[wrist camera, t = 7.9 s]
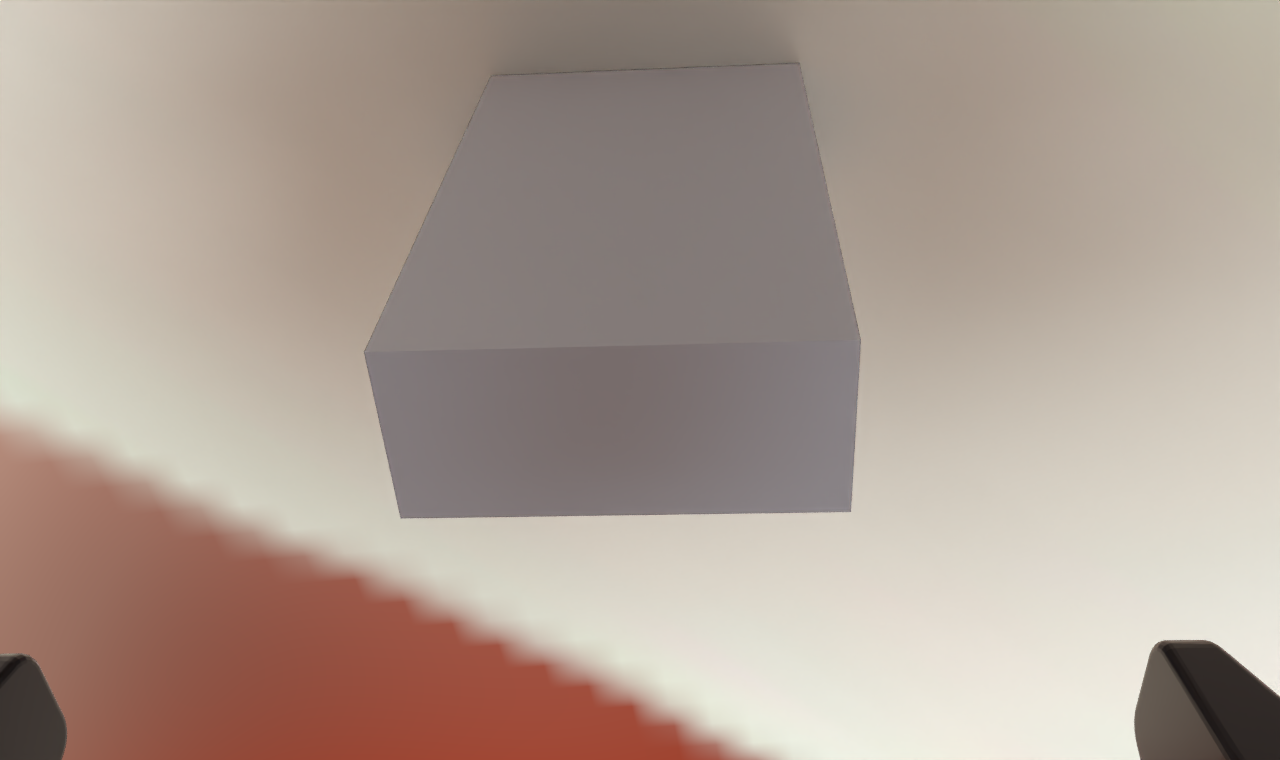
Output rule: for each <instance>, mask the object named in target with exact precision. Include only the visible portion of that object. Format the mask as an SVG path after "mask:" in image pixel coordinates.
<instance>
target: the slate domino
mask: <svg viewBox="0 0 1280 760" xmlns="http://www.w3.org/2000/svg"><path fill="white" fill-rule="evenodd" d="M860 344H861V339H860V334H859V330H858V325H857V321H856V316H855V312H854V307H853V303H852V298H851V294H850V289H849V285H848V280H847V276H846V271H845V267H844V262H843V258H842V253H841V249H840V244H839V239H838V235H837V230H836V226H835V221H834V217H833V212H832V208H831V203H830V199H829V194H828V190H827V185H826V181H825V176H824V172H823V167H822V163H821V158H820V154H819V149H818V145H817V140H816V136H815V131H814V127H813V122H812V118H811V113H810V109H809V104H808V99H807V95H806V90H805V86H804V81H803V77H802V72H801V68H800V63H791V64H766V65H741V66H717V67H692V68H668V69H643V70H619V71H594V72H569V73H545V74H520V75H496V76H491V77H490V79H489V81H488V83H487V85H486V87H485V90H484V92H483V94H482V96H481V98H480V101H479V103H478V105H477V107H476V109H475V111H474V114H473V116H472V118H471V120H470V122H469V125H468V127H467V129H466V131H465V133H464V135H463V138H462V140H461V142H460V144H459V146H458V149H457V151H456V153H455V155H454V157H453V159H452V162H451V164H450V166H449V168H448V170H447V172H446V175H445V177H444V179H443V181H442V183H441V186H440V188H439V190H438V192H437V194H436V196H435V199H434V201H433V203H432V205H431V207H430V210H429V212H428V214H427V216H426V218H425V220H424V223H423V225H422V227H421V229H420V231H419V234H418V236H417V238H416V240H415V242H414V244H413V247H412V249H411V251H410V253H409V255H408V258H407V260H406V262H405V264H404V266H403V268H402V271H401V273H400V275H399V277H398V279H397V281H396V284H395V286H394V288H393V290H392V292H391V295H390V297H389V299H388V301H387V303H386V305H385V308H384V310H383V312H382V314H381V316H380V319H379V321H378V323H377V325H376V327H375V329H374V332H373V334H372V336H371V338H370V340H369V343H368V345H367V347H366V349H365V351H364V354H365V359H366V363H367V368H368V372H369V377H370V381H371V386H372V390H373V395H374V399H375V404H376V408H377V413H378V418H379V422H380V427H381V431H382V436H383V440H384V445H385V449H386V454H387V458H388V463H389V467H390V472H391V476H392V481H393V485H394V490H395V495H396V499H397V504H398V508H399V513H400V517H401V518H462V517H530V516H599V515H668V514H736V513H805V512H851V501H852V483H853V466H854V449H855V431H856V414H857V396H858V379H859V362H860Z"/></svg>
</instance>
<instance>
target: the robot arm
mask: <svg viewBox="0 0 1280 760" xmlns="http://www.w3.org/2000/svg"><path fill="white" fill-rule="evenodd" d="M1134 726H1135V737H1136V742H1137V747H1138V751H1139V755H1140V759H1141V760H1280V696H1279V695H1277V694H1276V693H1275V692H1274V691H1273V690H1271V689H1270V688H1269V687H1268V686H1267V685H1265V684H1264V683H1263V682H1262V681H1261V680H1259V679H1258V678H1257V677H1256V676H1255V675H1253V674H1252V673H1251V672H1250V671H1249V670H1248V669H1246V668H1245V667H1244V666H1243V665H1242V664H1240V663H1239V662H1238V661H1237V660H1236V659H1234V658H1233V657H1232V656H1231V655H1230V654H1228V653H1227V652H1226V651H1225V650H1224V649H1222V648H1221V647H1220V646H1218V645H1216V644H1214V643H1212V642H1210V641H1206V640H1164V641H1161V642H1158V643H1157V644H1156V645H1155V646H1154V647H1153V648H1152V651H1151V653H1150V656H1149V659H1148V663H1147V667H1146V671H1145V675H1144V679H1143V683H1142V687H1141V690H1140V694H1139V698H1138V702H1137V706H1136V710H1135V719H1134ZM66 739H67V727H66V721H65V718H64V715H63V713H62V711H61V709H60V707H59V705H58V703H57V701H56V699H55V697H54V694H53V692H52V690H51V688H50V686H49V684H48V682H47V680H46V678H45V676H44V674H43V672H42V670H41V668H40V666H39V664H38V663H37V661H35V659H33V658H32V657H30V656H29V655H26V654H0V760H62V757H63V754H64V751H65V747H66Z"/></svg>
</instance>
